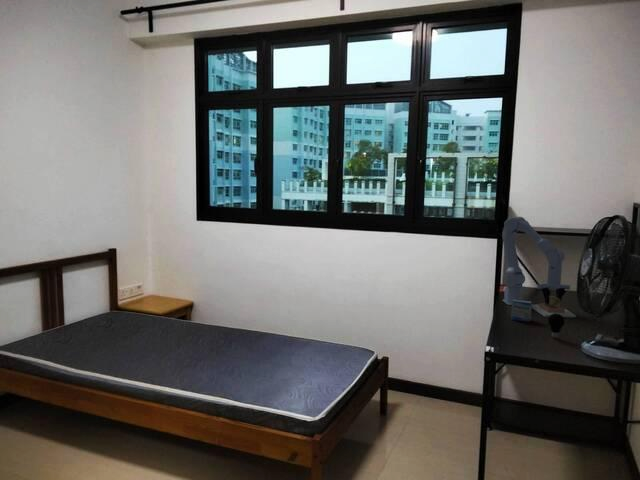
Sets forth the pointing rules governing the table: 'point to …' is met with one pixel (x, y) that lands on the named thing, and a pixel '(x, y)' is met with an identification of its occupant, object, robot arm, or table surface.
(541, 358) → the table surface
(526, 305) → the medicine box
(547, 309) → the holder
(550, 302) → the oak block
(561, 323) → the light bulb
